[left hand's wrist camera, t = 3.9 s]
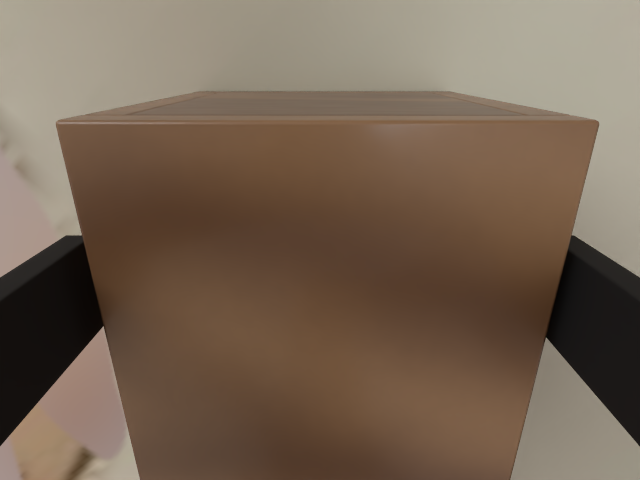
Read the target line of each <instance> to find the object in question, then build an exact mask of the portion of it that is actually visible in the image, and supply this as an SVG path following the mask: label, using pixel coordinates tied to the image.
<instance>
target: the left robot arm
mask: <svg viewBox="0 0 640 480" xmlns="http://www.w3.org/2000/svg"><path fill="white" fill-rule="evenodd" d="M103 326H104V325H103V321H102V317H101V312H100V308H99V304H98V300H97V296H96V291H95V287H94V283H93V279H92V275H91V270H90V266H89V262H88V258H87V254H86V249H85V245H84V241H83V237H82V236H65V237H63V238H62V239H60V240H58V241H57V242H55V243H54V244H52V245H51V246H49V247H48V248H46V249H44V250H43V251H41V252H40V253H38V254H37V255H35V256H33V257H32V258H30V259H29V260H27V261H26V262H24V263H22V264H21V265H19V266H18V267H16V268H15V269H13V270H11V271H10V272H8V273H7V274H5V275H4V276H2V277H0V446H1V445H2V443H3V442H4V441H5V440H6V439H7V438H8V437H9V435H10V434H11V433H12V432H13V431H14V430H15V428H16V427H17V426H18V425H19V424H20V423H21V421H22V420H23V419H24V418H25V417H26V416H27V414H28V413H29V412H30V411H31V410H32V409H33V407H34V406H35V405H36V404H37V403H38V402H39V400H40V399H41V398H42V397H43V396H44V395H45V393H46V392H47V391H48V390H49V389H50V388H51V386H52V385H53V384H54V383H55V382H56V381H57V379H58V378H59V377H60V376H61V375H62V374H63V372H64V371H65V370H66V369H67V368H68V367H69V365H70V364H71V363H72V362H73V361H74V360H75V358H76V357H77V356H78V355H79V354H80V353H81V351H82V350H83V349H84V348H85V347H86V346H87V345H88V343H89V342H90V341H91V340H92V339H93V338H94V336H95V335H96V334H97V333H98V332H99V331H100V329H101V328H102V327H103ZM546 338H547V339H548V340H549V341H550V342H551V343H552V345H553V346H554V347H555V348H556V349H557V350H558V351H559V353H560V354H561V355H562V356H563V357H564V358H565V360H566V361H567V362H568V363H569V364H570V365H571V367H572V368H573V369H574V370H575V371H576V372H577V374H578V375H579V376H580V377H581V378H582V379H583V381H584V382H585V383H586V384H587V385H588V386H589V388H590V389H591V390H592V391H593V392H594V393H595V395H596V396H597V397H598V398H599V399H600V400H601V402H602V403H603V404H604V405H605V406H606V407H607V409H608V410H609V411H610V412H611V413H612V414H613V416H614V417H615V418H616V419H617V420H618V421H619V423H620V424H621V425H622V426H623V427H624V428H625V430H626V431H627V432H628V433H629V434H630V435H631V437H632V438H633V439H634V440H635V441H636V442H637V444H638V445H639V446H640V277H638V276H636V275H635V274H633V273H632V272H630V271H629V270H627V269H625V268H624V267H622V266H621V265H619V264H618V263H616V262H614V261H613V260H611V259H610V258H608V257H607V256H605V255H603V254H602V253H600V252H599V251H597V250H596V249H594V248H593V247H591V246H589V245H588V244H586V243H585V242H583V241H582V240H580V239H578V238H577V237H575V236H571V239H570V243H569V247H568V251H567V255H566V259H565V263H564V267H563V271H562V275H561V279H560V283H559V287H558V291H557V295H556V299H555V303H554V307H553V310H552V314H551V318H550V322H549V326H548V330H547V334H546Z"/></svg>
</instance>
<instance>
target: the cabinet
mask: <svg viewBox="0 0 640 480" xmlns="http://www.w3.org/2000/svg"><path fill="white" fill-rule="evenodd" d="M56 127H57V131H58V136H59V140H60V144H61V148H62V152H63V157H64V161H65V165H66V169H67V174H68V178H69V182H70V186H71V190H72V195H73V199H74V203H75V207H76V211H77V216H78V220H79V224H80V228H81V232H82V237H83V241H84V245H85V249H86V254H87V258H88V262H89V266H90V270H91V275H92V279H93V283H94V287H95V291H96V296H97V300H98V304H99V308H100V312H101V317H102V321H103V325H104V329H105V333H106V338H107V342H108V346H109V350H110V355H111V359H112V363H113V367H114V371H115V376H116V380H117V384H118V388H119V392H120V397H121V401H122V405H123V409H124V413H125V418H126V422H127V426H128V430H129V435H130V439H131V443H132V447H133V451H134V456H135V460H136V464H137V468H138V472H139V477H140V480H510V478H511V474H512V470H513V466H514V462H515V458H516V454H517V450H518V446H519V442H520V438H521V434H522V430H523V426H524V422H525V418H526V414H527V410H528V406H529V402H530V398H531V394H532V390H533V386H534V382H535V378H536V374H537V370H538V366H539V362H540V358H541V354H542V350H543V346H544V342H545V338H546V334H547V330H548V326H549V322H550V318H551V314H552V310H553V307H554V303H555V299H556V295H557V291H558V287H559V283H560V279H561V275H562V271H563V267H564V263H565V259H566V255H567V251H568V247H569V243H570V239H571V235H572V231H573V227H574V223H575V219H576V215H577V211H578V207H579V203H580V199H581V195H582V191H583V187H584V183H585V179H586V175H587V171H588V167H589V163H590V159H591V155H592V151H593V147H594V143H595V139H596V135H597V131H598V127H599V122H598V121H596V120H593V119H587V118H582V117H577V116H571V115H568V114H562V113H557V112H552V111H547V110H542V109H537V108H531V107H526V106H521V105H516V104H511V103H506V102H500V101H495V100H490V99H485V98H480V97H475V96H469V95H464V94H459V93H454V92H220V91H199V92H194V93H190V94H185V95H180V96H175V97H170V98H165V99H160V100H155V101H150V102H145V103H140V104H136V105H131V106H126V107H121V108H116V109H111V110H106V111H101V112H96V113H91V114H86V115H81V116H76V117H71V118H66V119H61V120H58V121H57V122H56Z"/></svg>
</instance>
